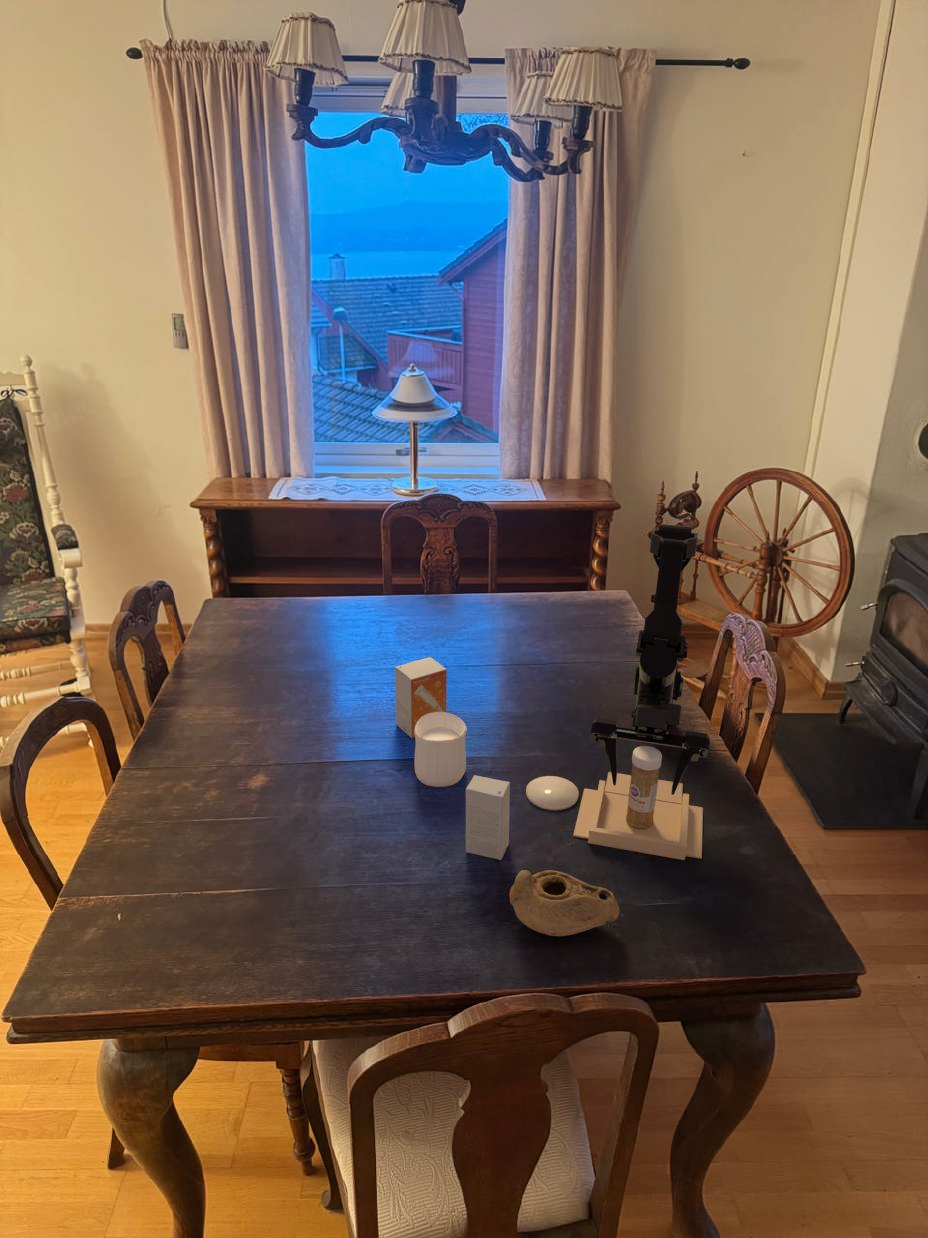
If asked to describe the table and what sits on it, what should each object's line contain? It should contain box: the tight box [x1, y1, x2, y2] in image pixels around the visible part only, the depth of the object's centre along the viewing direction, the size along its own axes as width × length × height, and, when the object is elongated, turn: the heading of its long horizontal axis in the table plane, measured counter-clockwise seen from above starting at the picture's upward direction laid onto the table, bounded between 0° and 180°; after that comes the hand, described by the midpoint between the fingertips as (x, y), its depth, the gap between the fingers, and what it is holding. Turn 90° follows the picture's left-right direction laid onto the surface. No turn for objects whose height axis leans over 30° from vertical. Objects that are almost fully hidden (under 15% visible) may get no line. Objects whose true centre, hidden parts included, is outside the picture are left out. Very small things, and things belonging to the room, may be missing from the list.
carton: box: [573, 771, 704, 861], centre depth 141 cm, size 20×20×2 cm
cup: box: [414, 711, 468, 788], centre depth 150 cm, size 10×10×10 cm
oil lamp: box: [509, 869, 620, 937], centre depth 118 cm, size 11×15×8 cm
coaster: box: [525, 775, 580, 811], centre depth 146 cm, size 9×9×1 cm
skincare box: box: [465, 774, 511, 861], centre depth 131 cm, size 6×4×12 cm
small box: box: [394, 656, 448, 739], centre depth 163 cm, size 8×6×13 cm
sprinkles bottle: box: [626, 745, 663, 829], centre depth 136 cm, size 5×5×14 cm
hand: (643, 789), depth 136 cm, fingers open, 9 cm apart
